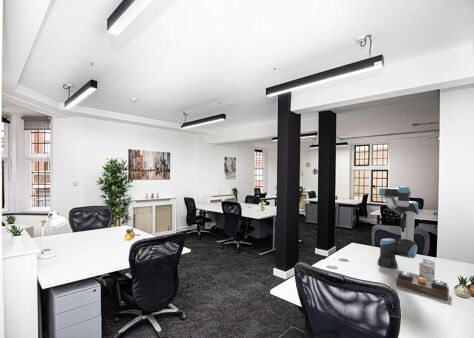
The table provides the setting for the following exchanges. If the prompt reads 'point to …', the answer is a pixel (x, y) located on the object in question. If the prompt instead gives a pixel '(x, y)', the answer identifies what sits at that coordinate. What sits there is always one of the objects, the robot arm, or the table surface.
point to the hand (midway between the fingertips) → (403, 235)
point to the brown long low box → (423, 286)
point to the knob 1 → (405, 274)
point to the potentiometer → (421, 280)
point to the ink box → (427, 270)
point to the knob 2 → (439, 282)
